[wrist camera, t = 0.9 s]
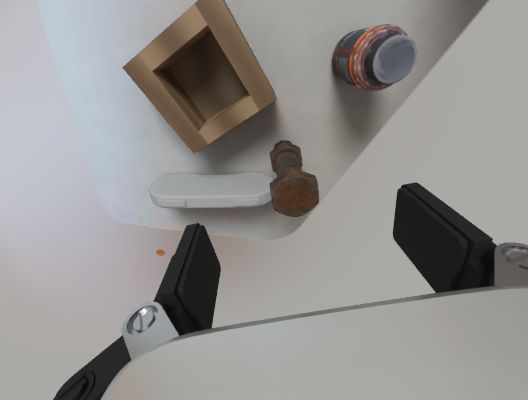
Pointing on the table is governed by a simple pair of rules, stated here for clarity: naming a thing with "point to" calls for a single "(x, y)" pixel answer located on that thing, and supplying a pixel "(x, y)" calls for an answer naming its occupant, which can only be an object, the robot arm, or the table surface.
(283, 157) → the bolt
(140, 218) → the table surface
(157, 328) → the robot arm
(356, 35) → the supplement bottle
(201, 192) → the game controller
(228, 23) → the socket block
